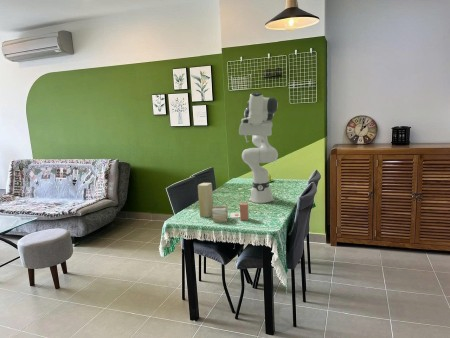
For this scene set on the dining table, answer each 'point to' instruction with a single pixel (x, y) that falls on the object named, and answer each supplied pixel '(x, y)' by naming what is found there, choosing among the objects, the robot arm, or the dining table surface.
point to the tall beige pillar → (205, 199)
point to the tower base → (220, 218)
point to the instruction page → (235, 215)
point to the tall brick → (244, 211)
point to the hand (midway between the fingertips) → (254, 142)
